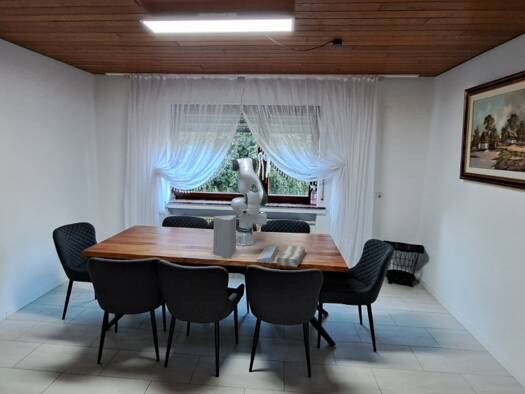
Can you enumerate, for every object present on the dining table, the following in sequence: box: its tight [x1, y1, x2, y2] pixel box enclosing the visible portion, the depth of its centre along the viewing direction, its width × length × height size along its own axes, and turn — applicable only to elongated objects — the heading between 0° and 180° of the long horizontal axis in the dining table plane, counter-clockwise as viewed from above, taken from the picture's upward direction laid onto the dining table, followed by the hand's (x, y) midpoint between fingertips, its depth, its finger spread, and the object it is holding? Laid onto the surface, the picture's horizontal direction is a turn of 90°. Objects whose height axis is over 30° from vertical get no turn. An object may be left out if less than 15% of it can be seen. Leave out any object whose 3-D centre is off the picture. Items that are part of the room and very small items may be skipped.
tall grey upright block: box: [212, 214, 237, 259], centre depth 272 cm, size 19×15×28 cm
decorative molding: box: [256, 244, 279, 264], centre depth 271 cm, size 34×5×10 cm
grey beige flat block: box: [276, 244, 306, 268], centre depth 266 cm, size 14×36×5 cm, turn 165°
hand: (253, 229), depth 272 cm, fingers open, 6 cm apart
